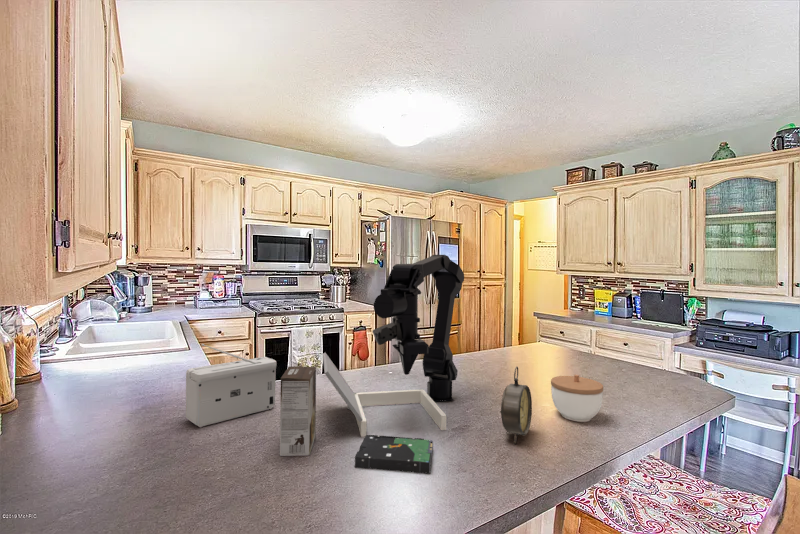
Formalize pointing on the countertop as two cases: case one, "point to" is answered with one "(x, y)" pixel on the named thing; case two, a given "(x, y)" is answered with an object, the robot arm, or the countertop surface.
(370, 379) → the countertop surface
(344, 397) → the beige bent panel frame
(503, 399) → the alarm clock
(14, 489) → the countertop surface
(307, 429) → the coffee box
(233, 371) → the stereo radio cassette player
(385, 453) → the disk drive
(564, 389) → the lidded bowl
